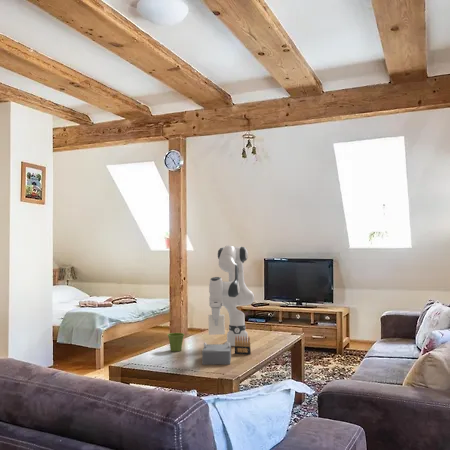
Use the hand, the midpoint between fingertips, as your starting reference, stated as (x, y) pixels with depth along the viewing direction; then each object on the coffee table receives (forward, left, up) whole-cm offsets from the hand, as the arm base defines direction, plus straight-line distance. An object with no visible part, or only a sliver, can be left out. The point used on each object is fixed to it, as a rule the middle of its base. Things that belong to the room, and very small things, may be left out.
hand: (216, 325), depth 321 cm
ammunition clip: (-18, +16, -23) cm, 33 cm away
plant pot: (-29, -30, -23) cm, 47 cm away
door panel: (0, 0, -6) cm, 6 cm away
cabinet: (0, 0, -22) cm, 22 cm away
